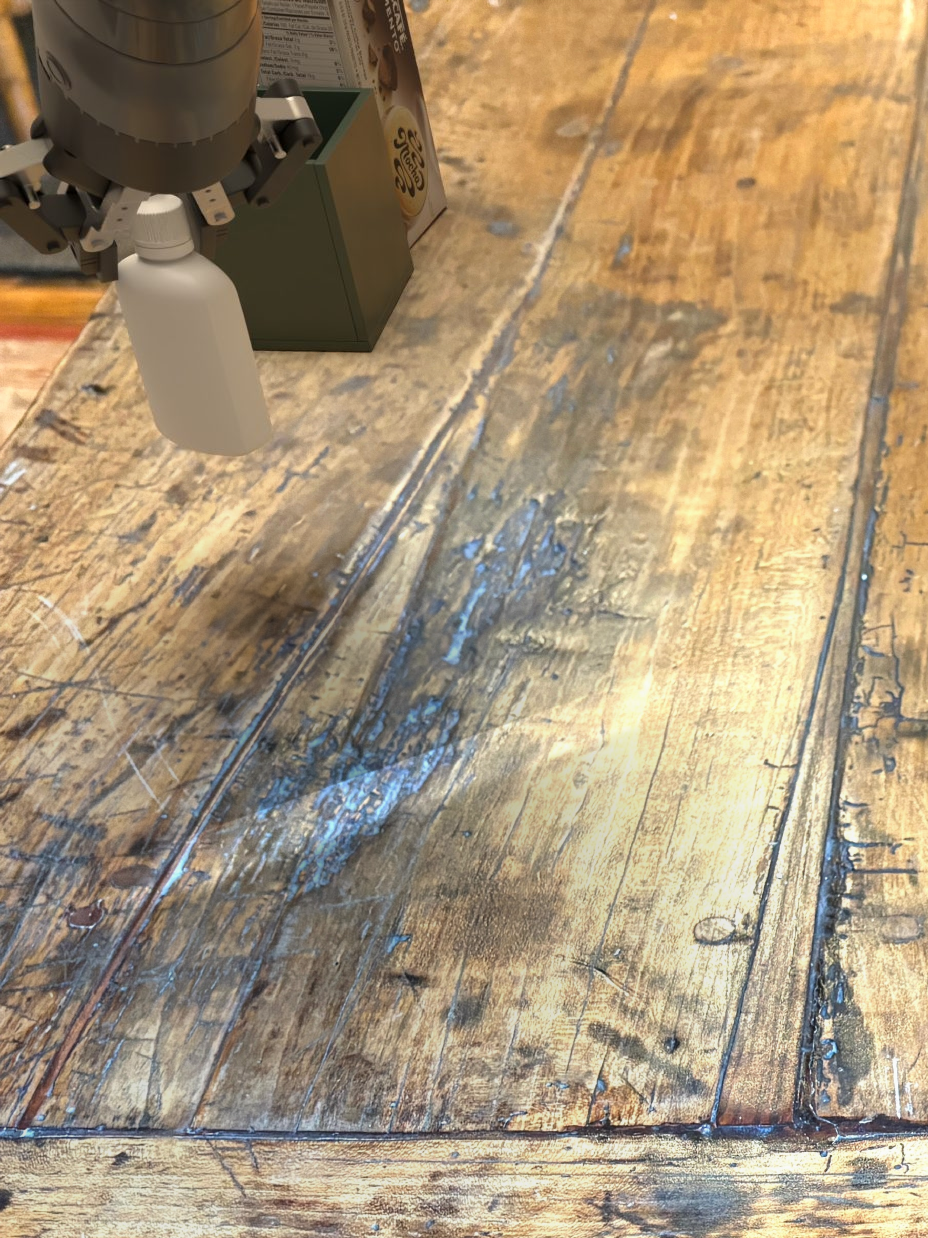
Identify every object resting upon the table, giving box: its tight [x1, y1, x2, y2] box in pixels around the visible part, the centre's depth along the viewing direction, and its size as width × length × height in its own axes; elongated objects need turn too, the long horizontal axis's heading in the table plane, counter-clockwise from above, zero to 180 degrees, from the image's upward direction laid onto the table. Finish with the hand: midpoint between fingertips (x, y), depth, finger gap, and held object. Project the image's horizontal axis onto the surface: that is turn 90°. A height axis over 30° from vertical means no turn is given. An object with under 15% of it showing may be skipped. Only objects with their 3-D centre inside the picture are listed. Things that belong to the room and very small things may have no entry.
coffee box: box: [258, 0, 448, 249], centre depth 120 cm, size 9×6×16 cm
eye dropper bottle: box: [113, 194, 275, 458], centre depth 88 cm, size 4×6×12 cm
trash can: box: [174, 86, 415, 353], centre depth 115 cm, size 11×11×11 cm
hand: (147, 250), depth 88 cm, fingers closed on eye dropper bottle, 3 cm apart
